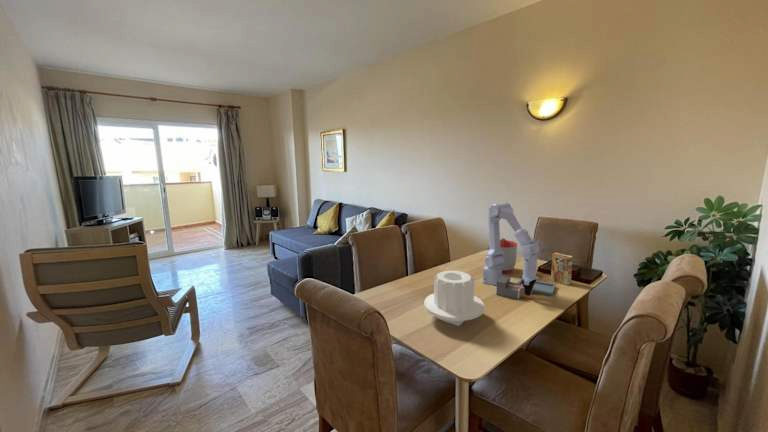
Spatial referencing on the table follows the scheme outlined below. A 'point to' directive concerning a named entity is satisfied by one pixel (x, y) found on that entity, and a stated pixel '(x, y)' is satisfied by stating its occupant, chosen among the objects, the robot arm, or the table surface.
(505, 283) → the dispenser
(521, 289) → the long salmon pink stick
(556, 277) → the candy box
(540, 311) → the table surface
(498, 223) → the robot arm
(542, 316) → the table surface
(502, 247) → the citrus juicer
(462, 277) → the ribbed cylinder on disc
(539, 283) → the tray
